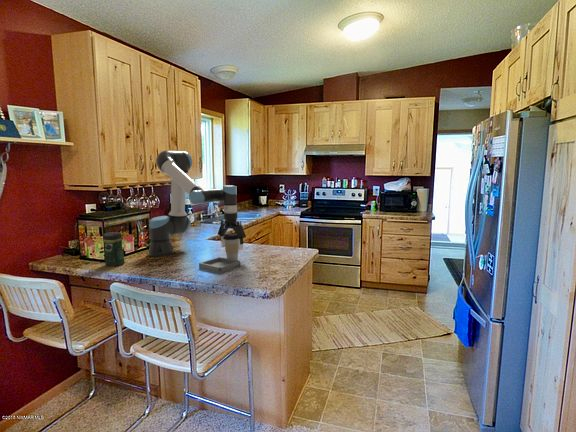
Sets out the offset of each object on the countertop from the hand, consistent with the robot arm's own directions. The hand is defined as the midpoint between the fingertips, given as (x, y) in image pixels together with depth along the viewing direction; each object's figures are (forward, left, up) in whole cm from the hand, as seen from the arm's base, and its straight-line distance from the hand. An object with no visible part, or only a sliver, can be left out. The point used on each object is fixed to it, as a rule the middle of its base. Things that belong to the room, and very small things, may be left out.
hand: (232, 248), depth 202 cm
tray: (+5, -15, -7) cm, 17 cm away
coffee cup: (0, 0, -7) cm, 7 cm away
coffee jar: (-50, -43, -7) cm, 66 cm away
